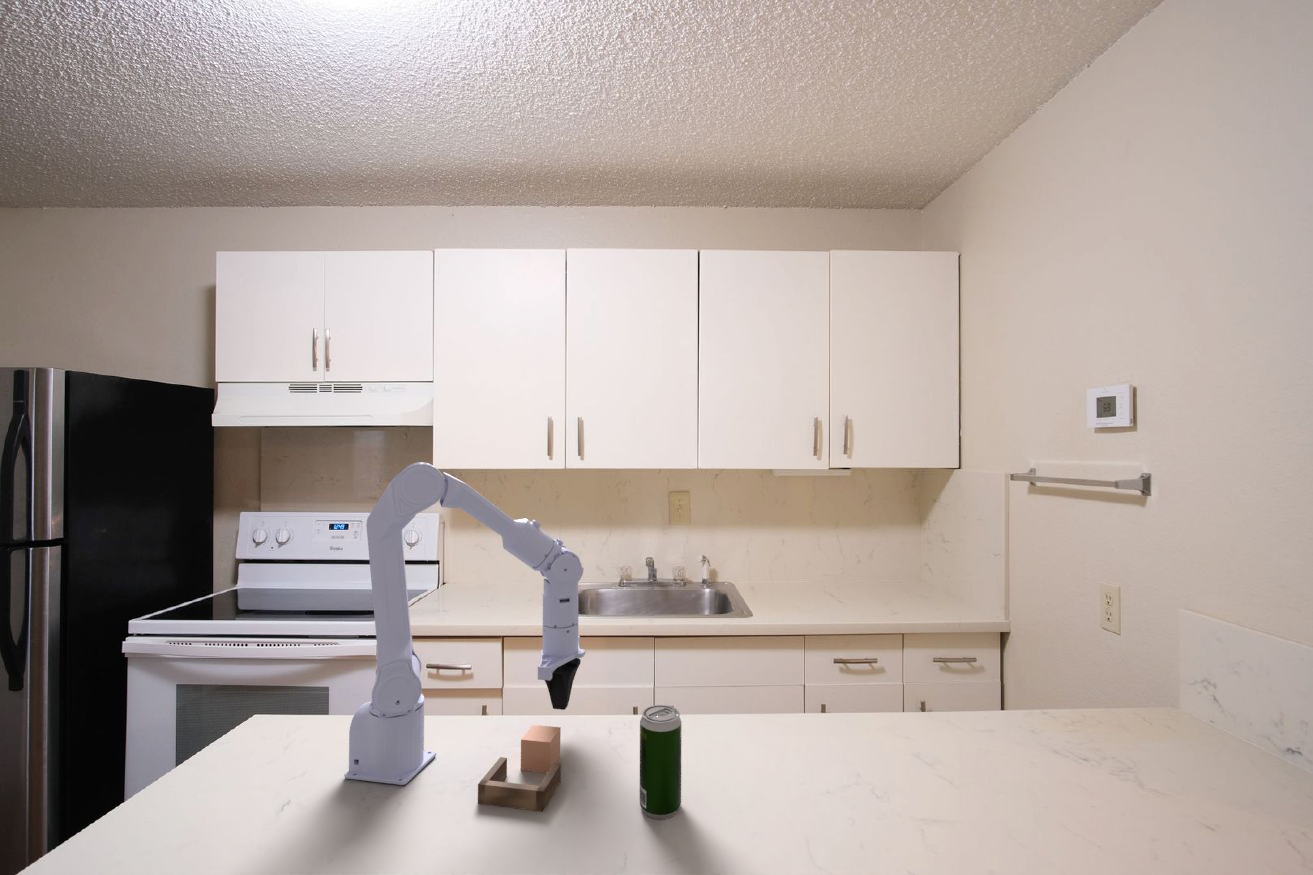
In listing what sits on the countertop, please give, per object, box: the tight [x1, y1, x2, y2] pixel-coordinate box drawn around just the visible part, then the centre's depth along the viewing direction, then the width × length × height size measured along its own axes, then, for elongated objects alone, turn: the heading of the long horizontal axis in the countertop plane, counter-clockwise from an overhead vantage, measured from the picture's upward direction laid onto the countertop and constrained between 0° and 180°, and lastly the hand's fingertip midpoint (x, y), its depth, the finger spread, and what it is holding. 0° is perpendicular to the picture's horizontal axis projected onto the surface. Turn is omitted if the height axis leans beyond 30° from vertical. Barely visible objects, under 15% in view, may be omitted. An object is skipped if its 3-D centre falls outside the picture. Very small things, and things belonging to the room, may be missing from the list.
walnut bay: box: [477, 756, 562, 812], centre depth 75 cm, size 9×6×2 cm
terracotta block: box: [520, 724, 562, 774], centre depth 83 cm, size 4×4×4 cm
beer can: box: [639, 704, 682, 820], centre depth 73 cm, size 5×5×12 cm
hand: (560, 707), depth 91 cm, fingers closed
